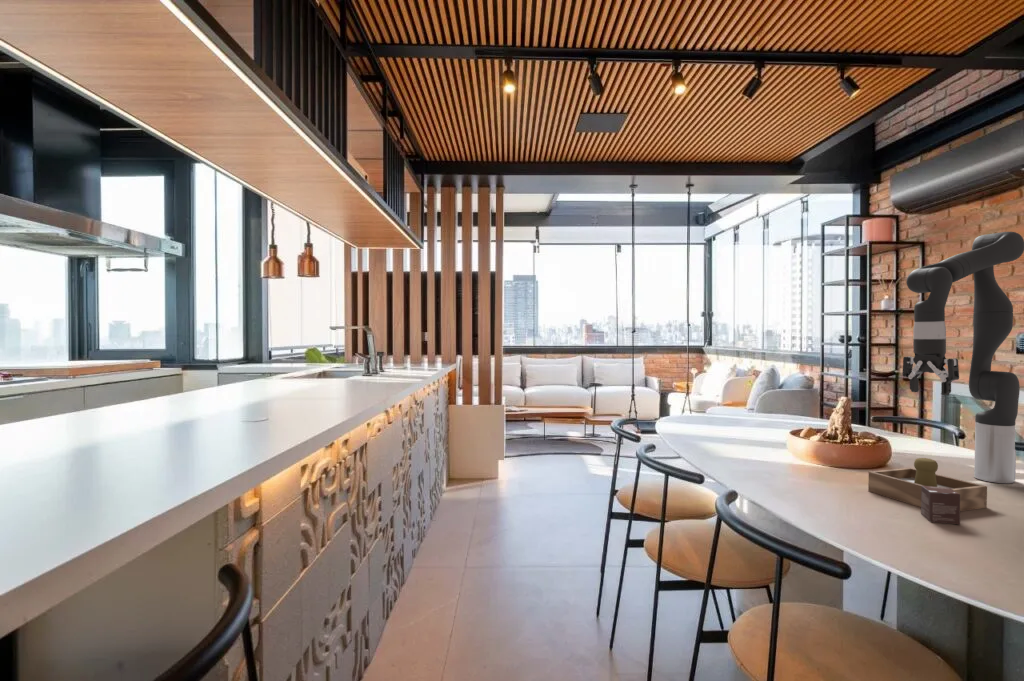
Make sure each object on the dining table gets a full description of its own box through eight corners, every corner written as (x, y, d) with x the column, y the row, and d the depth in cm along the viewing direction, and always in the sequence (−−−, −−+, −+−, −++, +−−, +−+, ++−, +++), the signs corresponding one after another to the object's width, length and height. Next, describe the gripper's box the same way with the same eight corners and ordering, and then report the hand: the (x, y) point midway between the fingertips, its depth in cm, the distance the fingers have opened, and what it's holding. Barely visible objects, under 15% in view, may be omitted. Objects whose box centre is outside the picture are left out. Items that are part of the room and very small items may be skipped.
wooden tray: (910, 486, 161) (910, 467, 161) (986, 507, 142) (987, 486, 142) (868, 491, 156) (868, 471, 156) (941, 513, 137) (942, 491, 137)
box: (949, 517, 135) (950, 487, 135) (960, 525, 129) (961, 494, 129) (920, 514, 137) (920, 485, 137) (929, 522, 131) (930, 491, 131)
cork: (944, 503, 145) (945, 461, 145) (918, 501, 147) (919, 460, 147) (932, 496, 151) (932, 456, 151) (907, 495, 153) (907, 455, 152)
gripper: (965, 337, 153) (965, 395, 154) (914, 336, 167) (914, 390, 167) (946, 338, 151) (946, 397, 152) (895, 337, 165) (896, 391, 165)
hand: (929, 393), depth 159 cm, fingers open, 8 cm apart
